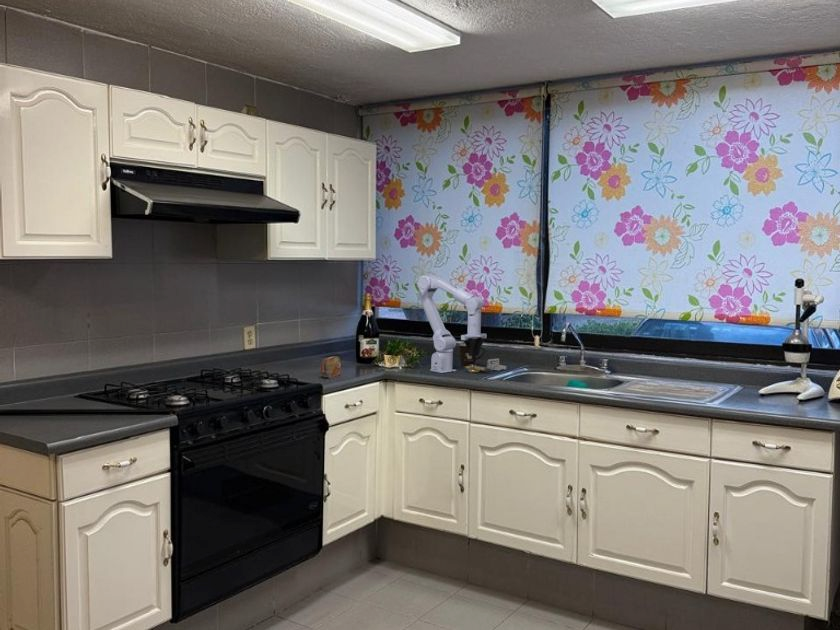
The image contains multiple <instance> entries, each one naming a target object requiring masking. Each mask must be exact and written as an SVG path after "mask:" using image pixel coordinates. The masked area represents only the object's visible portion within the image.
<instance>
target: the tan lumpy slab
mask: <svg viewBox="0 0 840 630" xmlns="http://www.w3.org/2000/svg"><path fill="white" fill-rule="evenodd" d="M341 372H342V360H341V358H340V357H339V355H336V356H330V357H327V358H324V359H323V360H322V362H321V375H322V377H323V378H324V379H333V378H336V377H338V376H340V374H341Z"/></svg>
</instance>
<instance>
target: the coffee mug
mask: <svg viewBox="0 0 840 630" xmlns="http://www.w3.org/2000/svg"><path fill="white" fill-rule="evenodd" d="M458 349H459V358H460V366H461V367H463V366H470V364H475V365H476V361H477V360H478V359H481V358H482V357H483V356H484V354H485V352H486V351H485V348H484V347H481V348H480V350H483V353H482V354H481V355H480V356H478V357H477V355H474V353H473V356H469V355H468V351H467V347H466V345H465V343H460V344H459V345H458Z"/></svg>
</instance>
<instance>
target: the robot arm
mask: <svg viewBox="0 0 840 630" xmlns="http://www.w3.org/2000/svg"><path fill="white" fill-rule="evenodd" d="M416 286H417V288H418V298H419V301H420V304H421V306H422V308H423V310H424V313H425V316H426V317H427V319H428V323H429V325H430V327H431V329H432V331H433V336H432V340H433V347H434V349H435V351H436V352H433V353H432V355H431V359H430V360H431V362H430V363H431V365H430V367H431V368H430V369H429V371H430V372H435V373H440V374H445V373H451V372H452V371H453V372H457V371H458V370H457V369H453V359H454V356H453V355H454V349H455V347H456V346H457V341H456V338H455V337H454V336H453V335H452V334H451V332H450V331H449V330H448V329H446V327H445V324H444V322H443V320H442V317H441V315H440V313H439V310H438V308H437V306H436V304H435V301H434V300H433V299H434V298H433V296H434V294H435V293H436V291H437V290H438V289H440V290H442V291H443V292H446V293H448V294H449V295H452V296H453V299H454V300H455V301H457V302H458V303H460V304H462V305H463V306H465V308H466V310H467V333H466V334H461V335H460V340H461V341H463V344H465V345H466V347H467V351H468V355H469V356H473V353H474V355H476V356H479V354H480V350H481V349H480V348H482V345H483V343H484V342H485V339H487V333H481V330H482V329H481V328H482V327H481V324H482V309H483V307H484V303H485V302H484V300H483V299H482V298H481V296H475V294H474V293H470V292H468V291H467V289H466V288H461V287H459V288H456V287H455V286H453V285H452V284H450V283H449V282H448V281H446V280H444V279H443V278H442V277H439V276H438V275H435V274H433V275H422V276H420V277H419V278H418V281H417V283H416Z"/></svg>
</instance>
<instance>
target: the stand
mask: <svg viewBox="0 0 840 630" xmlns="http://www.w3.org/2000/svg"><path fill="white" fill-rule="evenodd" d="M486 367H488V369H491V370H490V371H493V370H497V371H501V369H504V370H507V365H502V364H500V358H490V359H487V365H486Z"/></svg>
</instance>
